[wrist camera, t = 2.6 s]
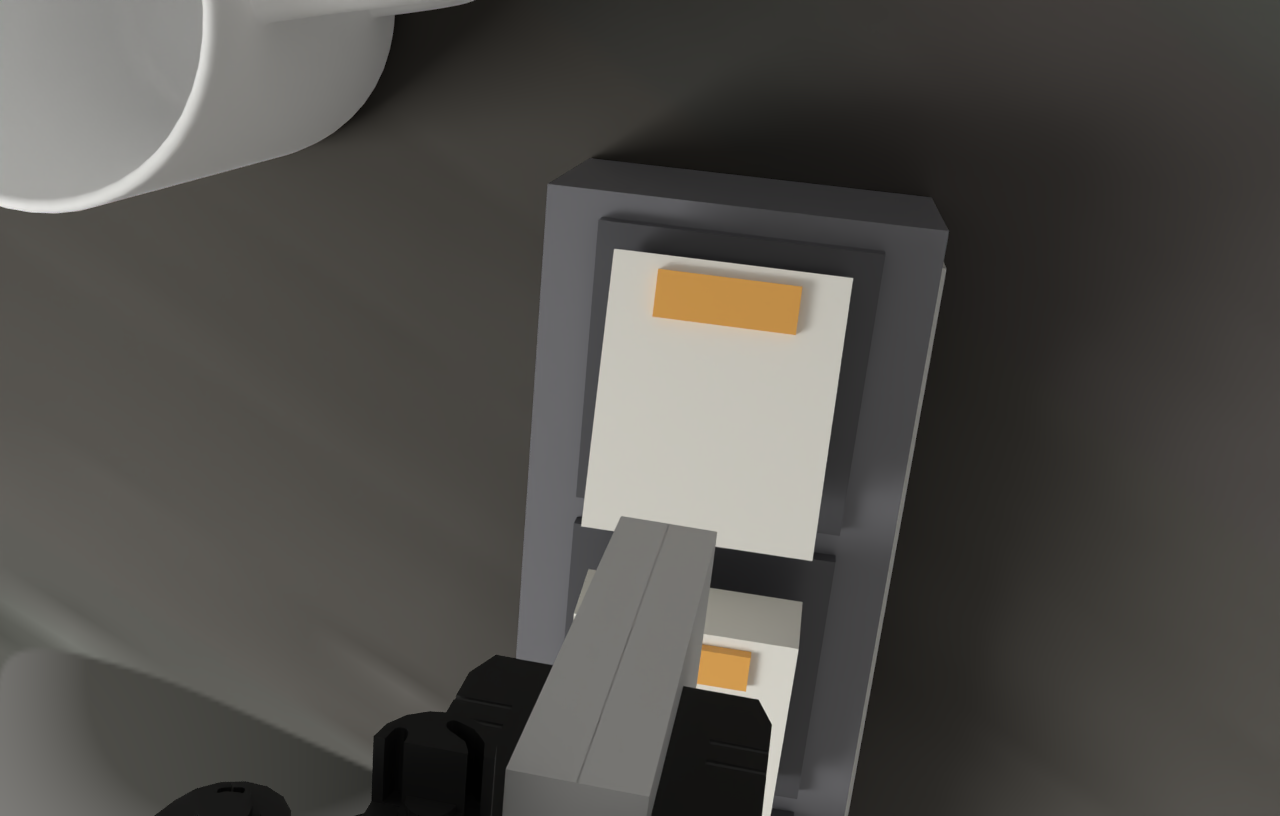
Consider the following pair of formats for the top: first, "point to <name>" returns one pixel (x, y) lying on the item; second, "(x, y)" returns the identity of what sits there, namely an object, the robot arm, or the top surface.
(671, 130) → the top surface
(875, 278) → the power strip
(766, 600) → the rocker
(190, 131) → the mug
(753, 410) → the rocker
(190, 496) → the top surface
